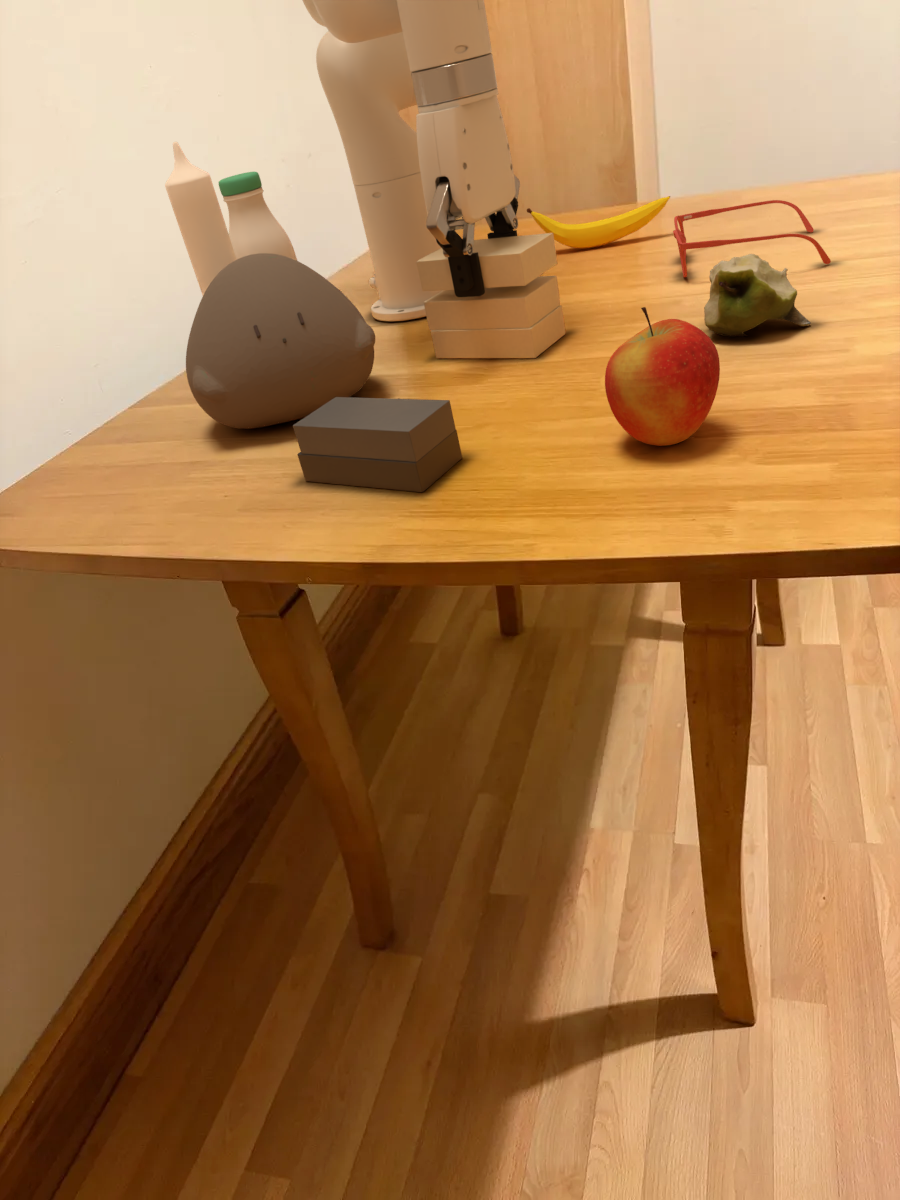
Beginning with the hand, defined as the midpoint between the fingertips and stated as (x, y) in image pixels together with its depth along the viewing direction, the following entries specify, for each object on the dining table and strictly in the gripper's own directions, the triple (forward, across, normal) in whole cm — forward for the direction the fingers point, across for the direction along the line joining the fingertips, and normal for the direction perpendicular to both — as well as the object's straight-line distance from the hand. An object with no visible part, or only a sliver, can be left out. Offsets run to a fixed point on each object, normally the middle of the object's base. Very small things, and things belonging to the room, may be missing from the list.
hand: (489, 282), depth 91 cm
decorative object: (+7, +17, -15) cm, 23 cm away
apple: (+7, +20, +26) cm, 33 cm away
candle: (+7, +12, -25) cm, 28 cm away
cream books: (+7, 0, 0) cm, 7 cm away
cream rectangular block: (0, 0, 0) cm, 0 cm away
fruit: (+7, -4, +25) cm, 26 cm away
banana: (+7, -38, -5) cm, 39 cm away
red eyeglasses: (+7, -28, +17) cm, 34 cm away
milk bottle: (+7, +1, -29) cm, 30 cm away
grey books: (+7, +28, +4) cm, 29 cm away
